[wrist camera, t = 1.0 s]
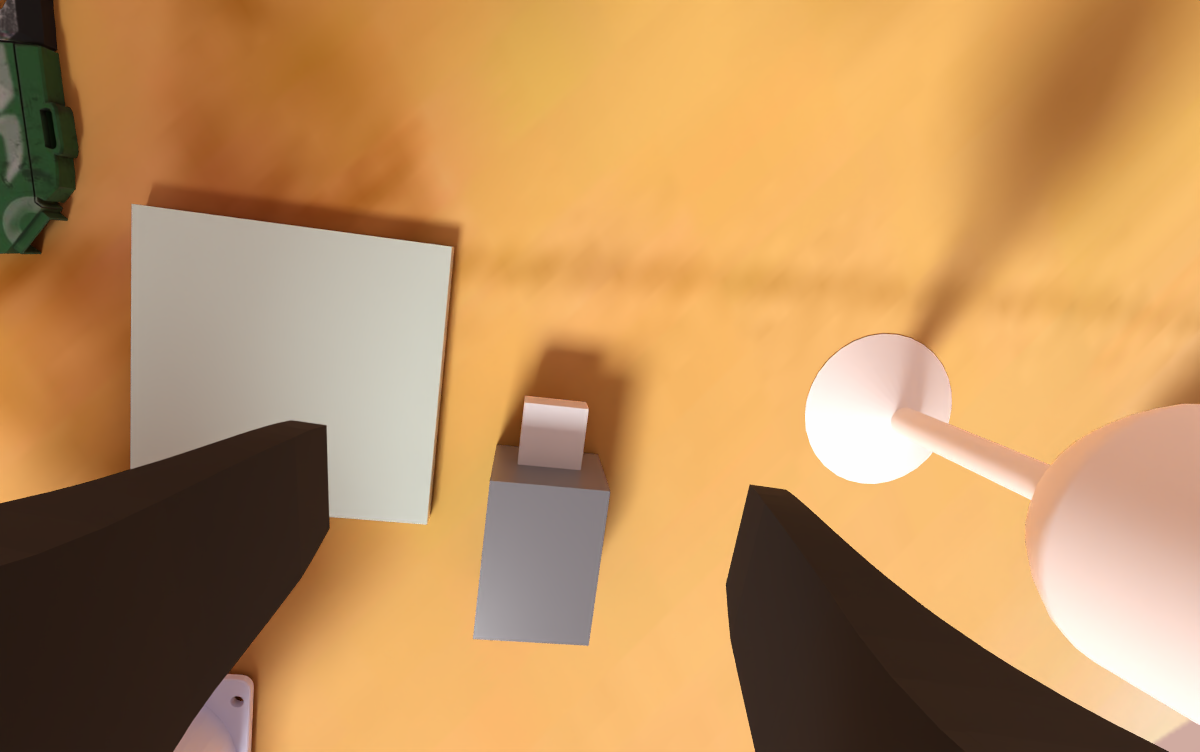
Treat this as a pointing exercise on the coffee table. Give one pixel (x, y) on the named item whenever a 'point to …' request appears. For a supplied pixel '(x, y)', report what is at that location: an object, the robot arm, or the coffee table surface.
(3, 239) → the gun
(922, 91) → the coffee table surface
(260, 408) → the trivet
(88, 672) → the robot arm
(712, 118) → the coffee table surface
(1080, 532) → the champagne flute
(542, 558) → the connector plug
